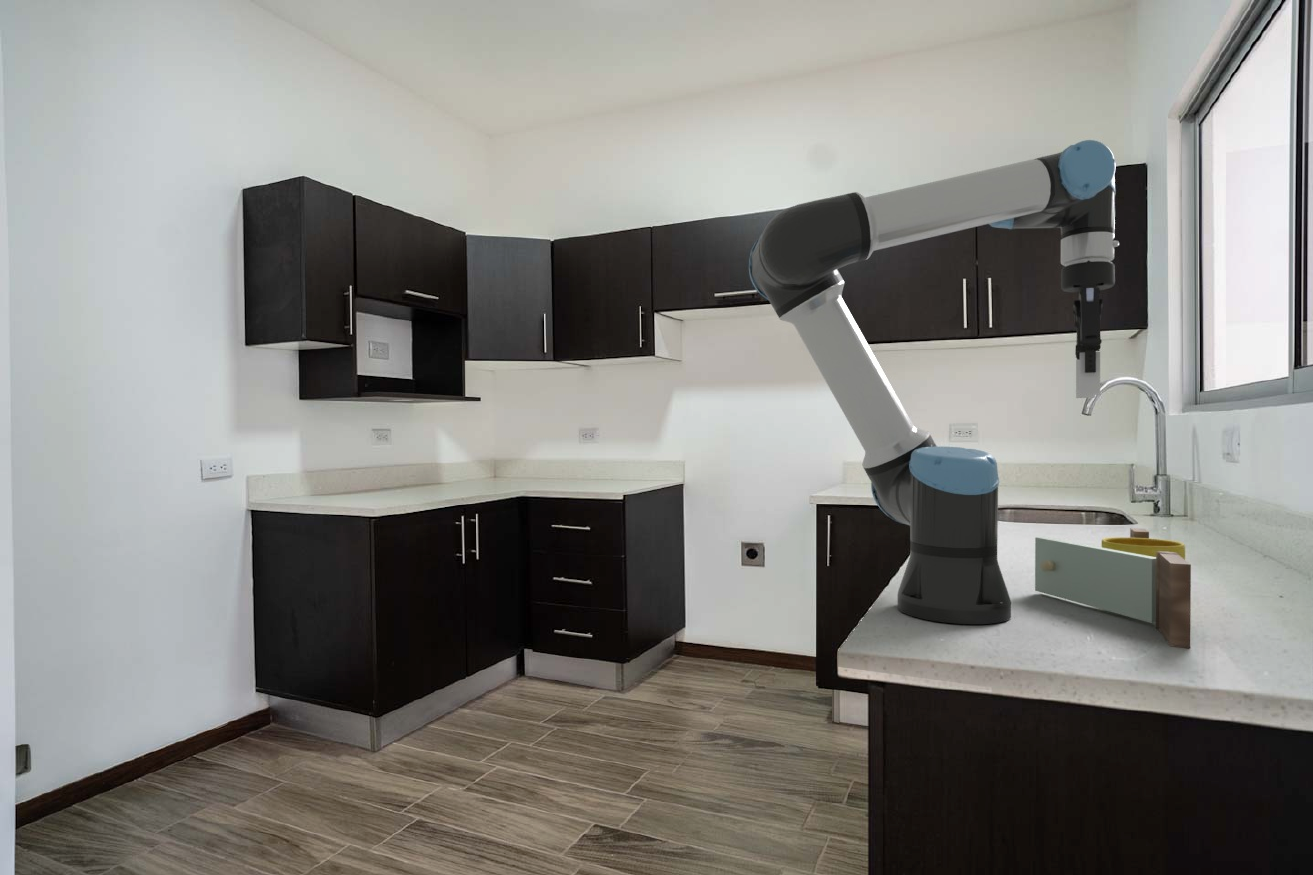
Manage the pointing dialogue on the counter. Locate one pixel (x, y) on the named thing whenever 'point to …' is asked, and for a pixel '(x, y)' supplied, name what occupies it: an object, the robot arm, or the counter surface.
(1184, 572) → the door frame
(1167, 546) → the plant pot
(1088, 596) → the door leaf
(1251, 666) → the counter surface
